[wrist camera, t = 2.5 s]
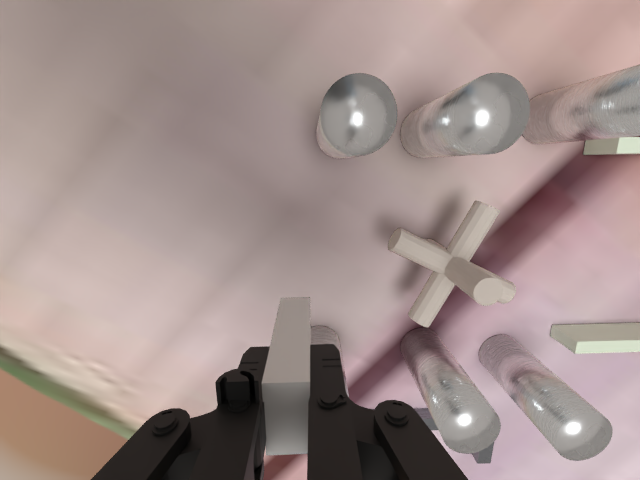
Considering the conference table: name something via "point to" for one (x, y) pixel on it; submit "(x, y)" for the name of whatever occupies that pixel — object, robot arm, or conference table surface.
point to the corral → (606, 334)
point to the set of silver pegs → (477, 139)
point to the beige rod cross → (453, 265)
